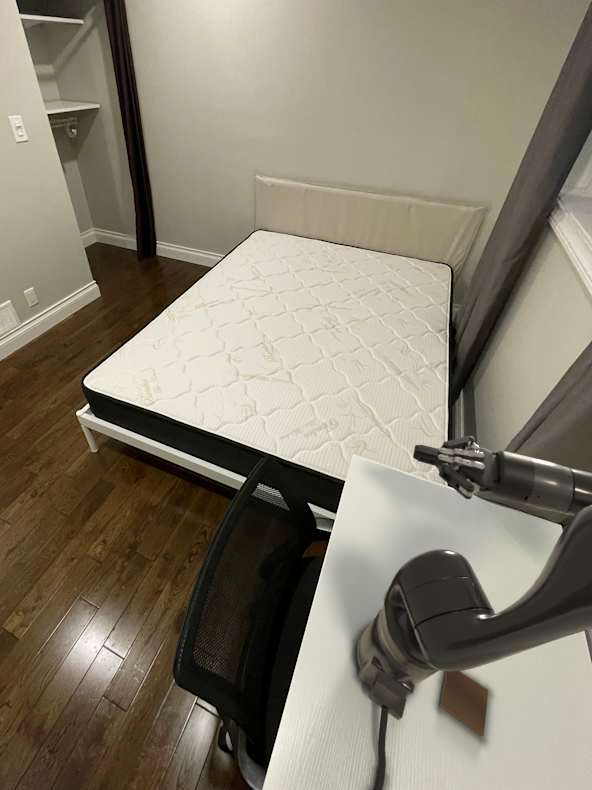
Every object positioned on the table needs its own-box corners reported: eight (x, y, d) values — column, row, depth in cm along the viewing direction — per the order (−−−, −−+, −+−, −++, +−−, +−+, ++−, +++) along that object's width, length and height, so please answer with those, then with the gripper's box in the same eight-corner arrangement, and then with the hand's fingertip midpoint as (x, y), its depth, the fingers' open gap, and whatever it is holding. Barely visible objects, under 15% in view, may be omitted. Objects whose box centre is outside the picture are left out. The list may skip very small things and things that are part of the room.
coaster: (481, 736, 55) (483, 735, 54) (439, 706, 57) (441, 705, 57) (485, 691, 59) (488, 690, 58) (446, 665, 61) (448, 663, 61)
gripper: (532, 436, 62) (420, 412, 69) (542, 499, 52) (411, 464, 59) (519, 466, 66) (415, 440, 73) (527, 530, 56) (406, 493, 63)
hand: (414, 451), depth 66 cm, fingers closed
